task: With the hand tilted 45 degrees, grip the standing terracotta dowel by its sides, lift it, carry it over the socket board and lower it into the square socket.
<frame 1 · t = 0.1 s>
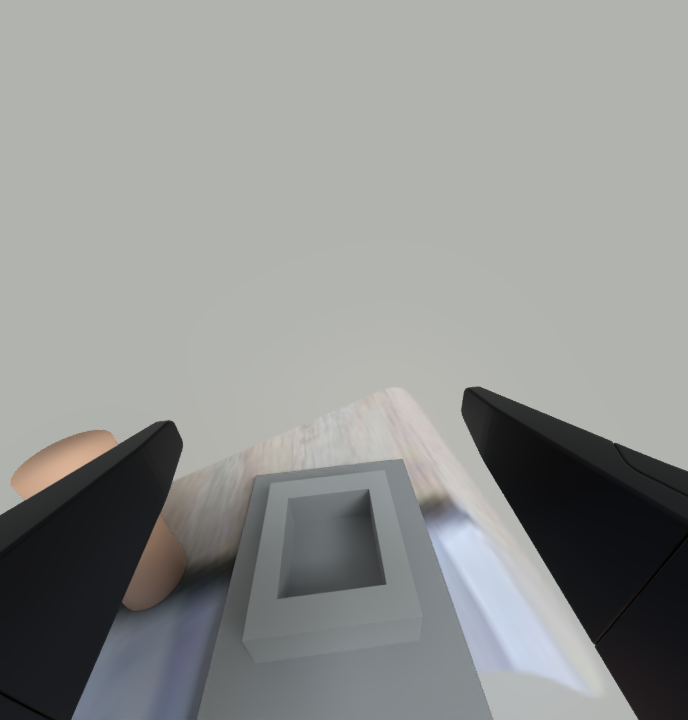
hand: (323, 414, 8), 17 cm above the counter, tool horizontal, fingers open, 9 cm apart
dowel: (156, 575, 20), on the counter
socket: (335, 568, 19), on the counter
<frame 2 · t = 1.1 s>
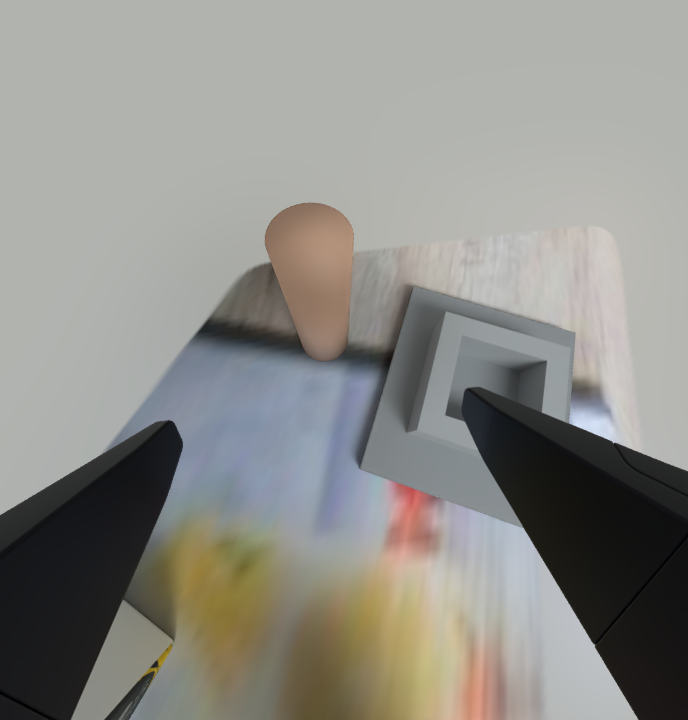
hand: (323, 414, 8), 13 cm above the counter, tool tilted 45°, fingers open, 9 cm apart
medicine bottle: (97, 664, 17), on the counter
dowel: (324, 339, 24), on the counter
socket: (471, 397, 22), on the counter
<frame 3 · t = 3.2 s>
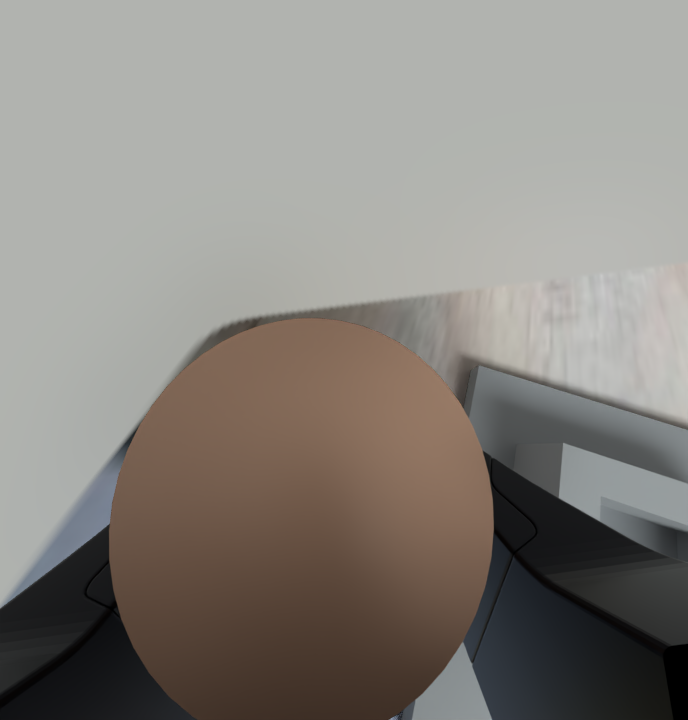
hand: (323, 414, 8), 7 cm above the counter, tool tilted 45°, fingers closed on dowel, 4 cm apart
dowel: (333, 456, 14), on the counter, touching gripper
socket: (587, 571, 13), on the counter
when the fingers open (9 cm above the counter, at t = 6.1 s): dowel drops 1 cm, resting on socket.
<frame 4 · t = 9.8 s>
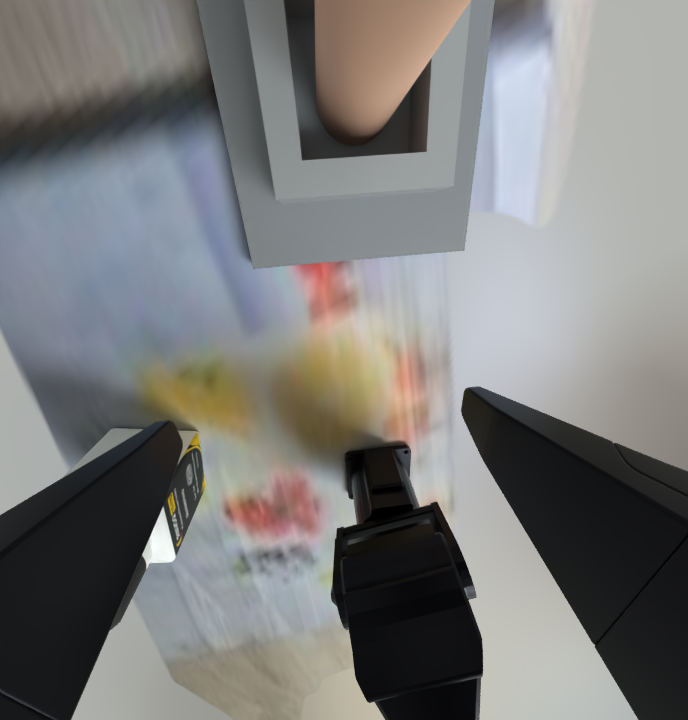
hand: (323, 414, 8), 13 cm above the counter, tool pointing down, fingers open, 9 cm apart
medicine bottle: (164, 456, 25), on the counter
dowel: (354, 98, 14), point 1 cm above the counter, touching socket
socket: (351, 105, 15), on the counter
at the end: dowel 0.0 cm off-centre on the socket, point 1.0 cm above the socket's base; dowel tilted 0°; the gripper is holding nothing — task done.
